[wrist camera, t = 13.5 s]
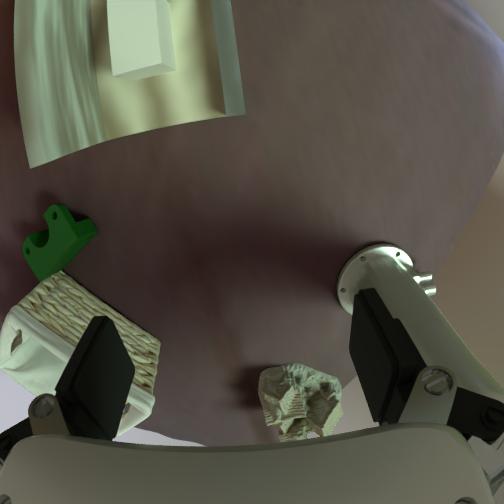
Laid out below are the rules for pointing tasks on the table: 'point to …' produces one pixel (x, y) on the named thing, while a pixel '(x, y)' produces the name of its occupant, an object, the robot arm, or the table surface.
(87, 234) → the clamp
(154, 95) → the curved railed panel
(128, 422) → the storage basket
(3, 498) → the robot arm
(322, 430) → the ceramic cottage
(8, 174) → the table surface
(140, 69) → the mini cabinet
